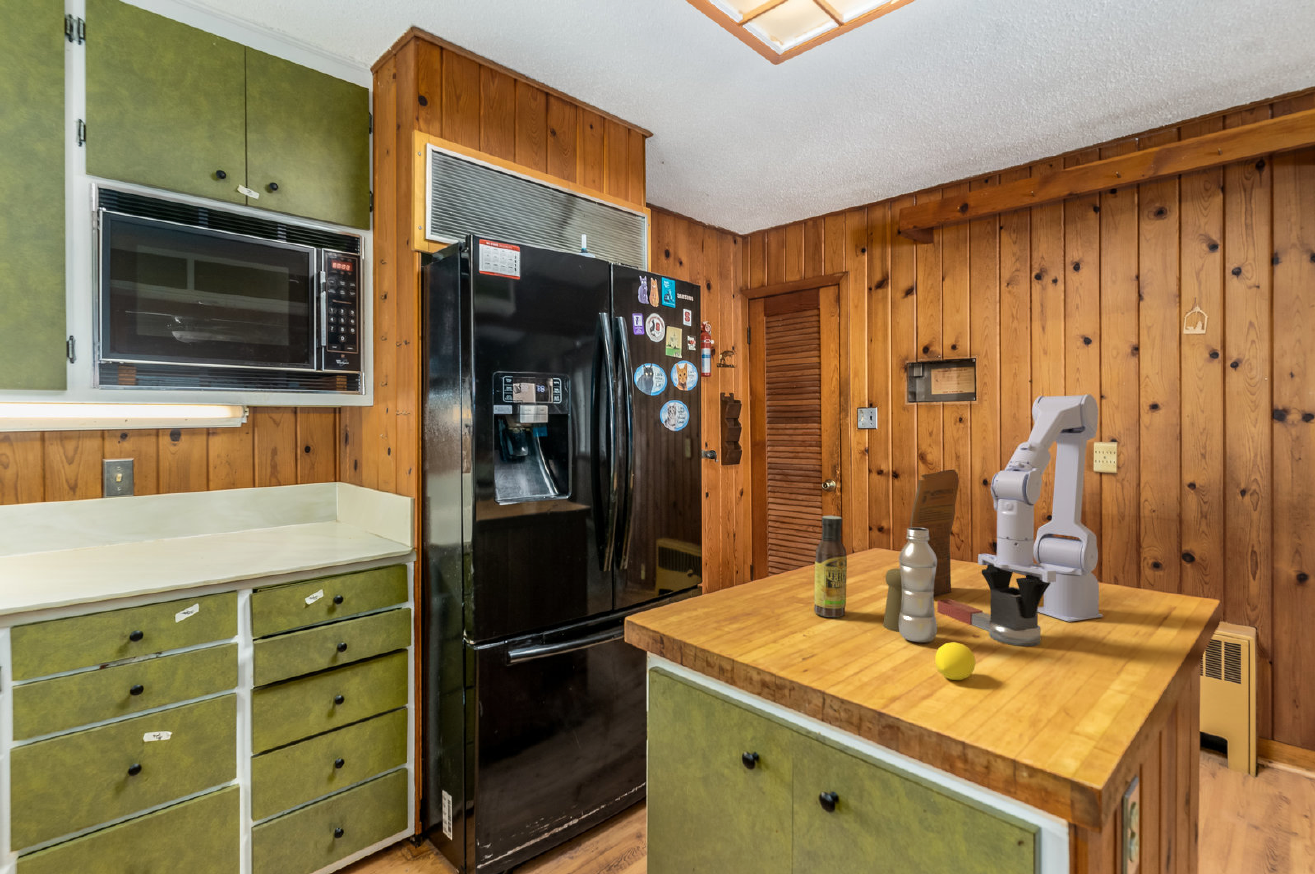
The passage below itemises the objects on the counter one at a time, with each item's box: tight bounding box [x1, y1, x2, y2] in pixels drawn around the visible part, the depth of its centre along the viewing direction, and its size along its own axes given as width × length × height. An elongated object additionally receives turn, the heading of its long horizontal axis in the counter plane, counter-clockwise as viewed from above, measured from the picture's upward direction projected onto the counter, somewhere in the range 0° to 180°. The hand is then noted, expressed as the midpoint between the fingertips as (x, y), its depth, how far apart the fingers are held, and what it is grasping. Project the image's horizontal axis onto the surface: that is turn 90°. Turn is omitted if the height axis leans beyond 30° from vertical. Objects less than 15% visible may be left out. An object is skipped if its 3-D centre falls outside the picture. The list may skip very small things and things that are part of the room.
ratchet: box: [937, 598, 1042, 647], centre depth 118 cm, size 8×21×6 cm, turn 18°
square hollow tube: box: [990, 586, 1039, 631], centre depth 111 cm, size 5×5×6 cm
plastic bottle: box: [898, 527, 938, 643], centre depth 111 cm, size 6×7×20 cm
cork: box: [882, 568, 902, 633], centre depth 118 cm, size 6×6×11 cm
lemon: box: [934, 641, 977, 681], centre depth 95 cm, size 7×5×5 cm
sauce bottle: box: [813, 515, 848, 618], centre depth 126 cm, size 6×6×20 cm
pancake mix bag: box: [909, 469, 959, 598], centre depth 140 cm, size 7×19×28 cm, turn 124°
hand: (1014, 612), depth 111 cm, fingers closed on square hollow tube, 5 cm apart
